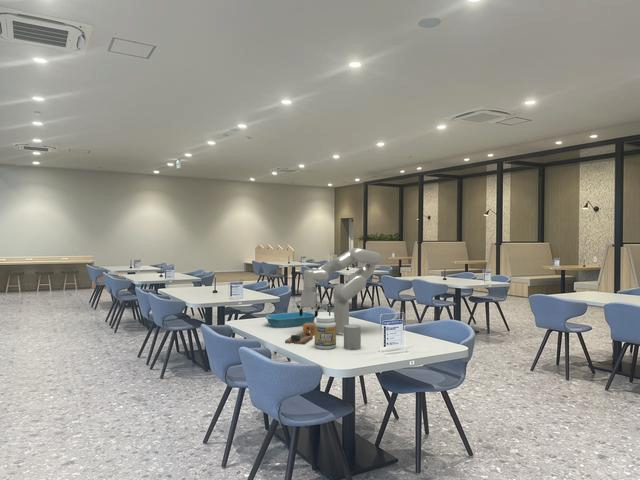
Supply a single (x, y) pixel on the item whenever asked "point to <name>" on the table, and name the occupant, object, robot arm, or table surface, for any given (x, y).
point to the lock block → (309, 329)
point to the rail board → (303, 340)
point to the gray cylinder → (352, 337)
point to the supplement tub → (325, 332)
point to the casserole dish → (290, 319)
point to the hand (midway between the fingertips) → (308, 316)
